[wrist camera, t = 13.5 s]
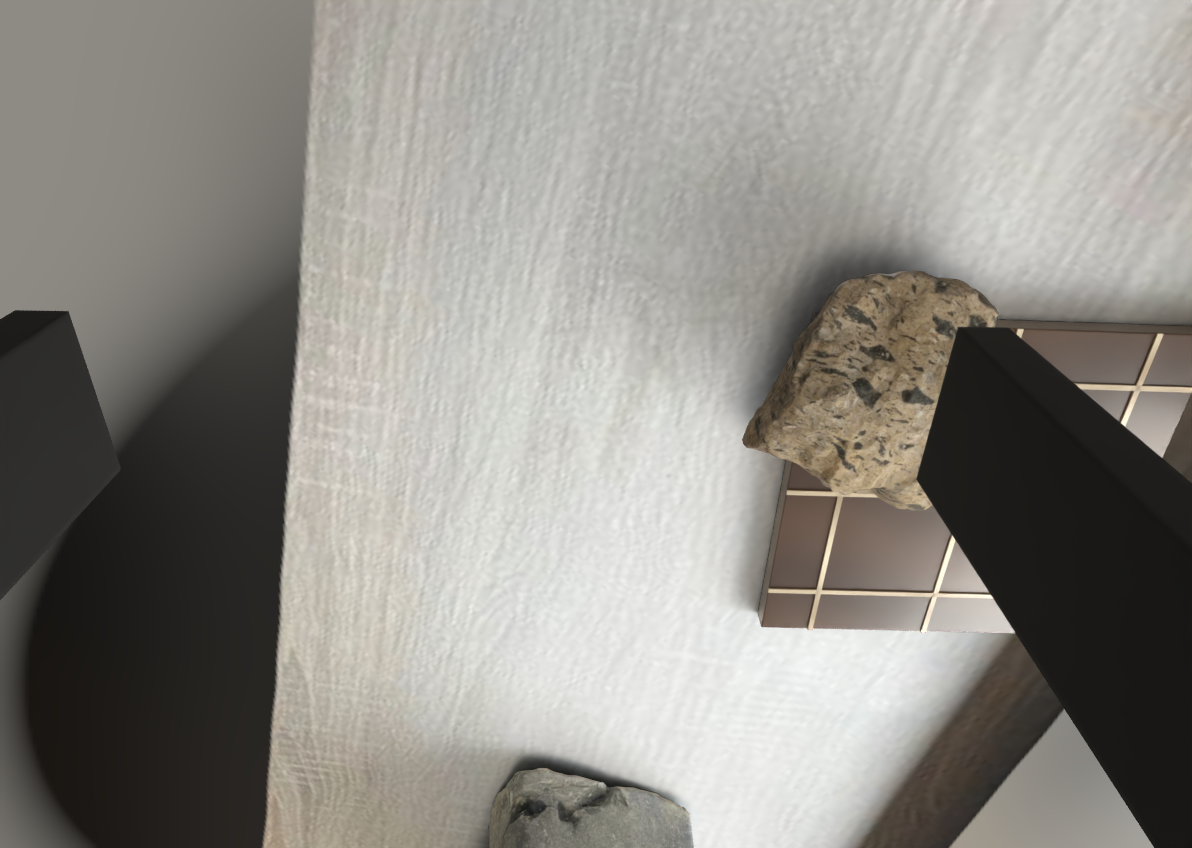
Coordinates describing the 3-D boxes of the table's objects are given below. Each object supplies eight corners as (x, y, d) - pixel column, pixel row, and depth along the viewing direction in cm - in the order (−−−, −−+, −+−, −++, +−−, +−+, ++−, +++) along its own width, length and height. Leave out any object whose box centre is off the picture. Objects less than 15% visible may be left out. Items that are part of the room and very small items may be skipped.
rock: (1038, 324, 38) (1089, 362, 35) (891, 500, 44) (921, 550, 40) (854, 222, 36) (887, 252, 32) (720, 423, 41) (735, 468, 37)
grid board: (812, 312, 40) (819, 322, 38) (1202, 326, 40) (1221, 336, 39) (757, 614, 49) (761, 629, 48) (1072, 621, 50) (1084, 637, 49)
